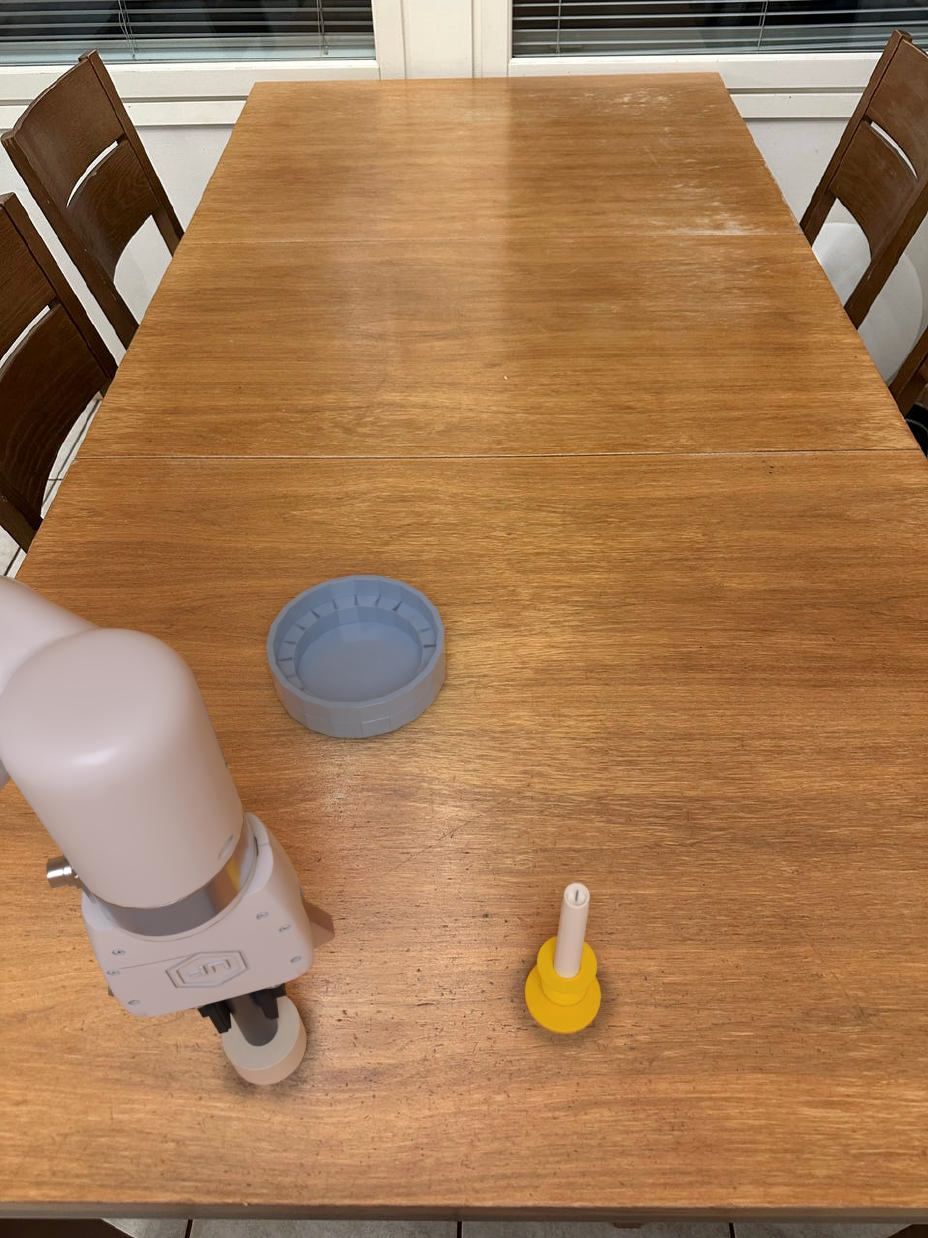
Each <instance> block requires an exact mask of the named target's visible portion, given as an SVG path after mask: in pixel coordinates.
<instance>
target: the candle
mask: <svg viewBox="0 0 928 1238" xmlns="http://www.w3.org/2000/svg"><path fill="white" fill-rule="evenodd" d="M590 898H591V895H590V891H589V889H588V887H587V886H585V884H583V883H580V882H572V883H570V884H569V885H567V886H566V888H565V889H564V892H563V897H562V900H561V906H560V914H559V920H558V927H557V935H556V936H552V937H550V938H549V939H548V940H546V941H545V942H544V943H543V945H542V946H541V947H540V949H539V951H538V954H537V958H536V963H535V965H534V966H533V968H532V969H531V970H530V971H529V972H528V973H529V974H528V975H527V978H526V980H525V985H524V1000H525V1004H526V1007H527V1010H528V1012H529V1014H530V1015H531V1017H532V1018H533V1020H534V1021H535V1022H536V1023H538V1024H539V1025H540V1026H541V1027H542V1028H544V1029H546V1030H548V1031H550V1032H551V1033H556V1034H563V1035H564V1034H574V1033H576V1032H580V1031H582V1030H584V1029H585V1028H586V1027H588V1026H589V1025H591V1023H592V1022H593V1021H594V1020H595V1018H596V1017H597V1015H598V1012H599V1009H600V1007H601V1000H602V992H601V991H602V990H601V984H600V983H599V980H598V978H597V976H596V975H597V970H598V963H597V962H598V961H597V956H596V954H595V952H594V950H593V948H592V947H591V946H590V944H589V943H588V942H586V941H585V936H586V931H587V923H588V917H589V910H590Z"/></svg>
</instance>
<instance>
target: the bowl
mask: <svg viewBox="0 0 928 1238" xmlns="http://www.w3.org/2000/svg"><path fill="white" fill-rule="evenodd" d="M446 647H447V646H446V629H445V626H444V624H443V619H442V617H441V615H440V611H439V609H438V608H437V607H436V606H435V604H434V603H433V602H432V601H431V599H429V598H428V597H427V595H426V594H425V593H424V592H422V591H421V590H419V589H417V588H415V587H414V586H413V585H411V584H409V583H407V582H405V581H403V580H398V579H394V578H391V577H388V576H383V575H379V574H350V575H345V576H341V577H336V578H335V577H334V578H330V579H327V580H324V581H322V582H320V583H317V584H315V585H313V586H311V587H309V588H307V589H304V590H302V591H301V592H300V593H299V594H297V595H296V596H295V597H294V598H292V599H291V600H290V601H289V602H287V603H286V604H284V606H283V607H282V608H281V610H280V611H279V613H278V614H277V615H276V617H275V619H274V620H273V621H272V623H271V625H270V627H269V631H268V635H267V639H266V643H265V649H266V656H267V657H266V658H267V663H268V667H269V671H270V675H271V678H272V679H271V680H272V682H273V686H274V689H275V693H276V696H277V699H278V700H279V702H280V703H281V704H282V706H283V707H284V709H285V711H286V712H287V714H288V715H289V716H290V717H291V718H293V719H294V720H296V721H297V722H298V723H300V724H301V725H302V726H304V727H305V728H307V729H308V730H310V731H314V732H317V733H320V734H323V735H326V736H329V737H332V738H343V739H344V738H346V739H347V738H349V739H350V738H351V739H365V738H370V737H374V736H378V735H379V736H380V735H384V734H388V733H392V732H394V731H396V730H398V729H399V728H401V727H403V726H405V725H407V724H409V723H411V722H413V721H415V720H417V719H418V717H420V716H421V715H422V714H423V712H425V711H426V710H427V709H428V708H429V707H430V706H431V705H432V704H433V703H434V702H435V700H436V699H437V696H438V695H439V693H440V691H441V689H442V687H443V685H444V683H445V680H446V671H447V670H446V669H447V648H446Z"/></svg>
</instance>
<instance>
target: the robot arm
mask: <svg viewBox="0 0 928 1238" xmlns="http://www.w3.org/2000/svg"><path fill="white" fill-rule="evenodd" d="M231 773H232V772H231V770H230V768H229V765H228V762H227V760H226V757H225V755H224V752H223V749H222V747H221V743H220V741H219V739H218V736H217V734H216V731H215V728H214V725H213V722H212V720H211V717H210V714H209V712H208V709H207V706H206V703H205V701H204V698H203V696H202V692H201V690H200V687H199V685H198V682H197V680H196V677H195V675H194V673H193V671H192V669H191V668H190V666H189V665H188V662H187V661H186V660H185V659H184V657H183V656H182V655H181V654H180V653H179V652H178V651H177V650H176V649H175V648H174V647H172V645H170V644H169V643H167V642H165V641H164V640H162V639H160V638H159V637H157V636H155V635H152V634H149V633H146V632H143V631H141V630H136V629H130V628H125V627H124V628H123V627H105V628H104V627H103V626H101V625H98V624H97V623H94V622H93V621H90V620H88V619H86V618H85V617H83V616H80V615H79V614H76V613H75V612H72V611H71V610H69V609H67V608H65V607H64V606H61V605H59V604H58V603H56V602H54V601H52V600H51V599H48V598H47V597H45V596H43V595H42V594H40V592H38V591H37V590H35V589H34V588H33V587H31V586H29V585H28V584H27V583H25V582H23V581H21V580H18V579H16V578H15V577H11V576H7V575H3V574H0V793H1V792H2V791H3V790H4V788H5V786H6V785H7V784H8V782H9V781H10V780H12V782H13V783H14V784H15V786H16V787H17V789H18V790H19V792H20V793H21V794H22V796H23V798H24V799H25V800H26V802H27V803H28V805H29V806H30V808H31V809H32V811H33V812H34V814H35V815H36V816H37V818H38V819H39V821H40V822H41V824H42V826H43V827H44V828H45V829H46V831H47V833H48V834H49V835H50V837H51V839H52V840H53V841H54V843H55V844H56V846H57V847H58V849H59V851H60V852H61V853H62V855H61V856H56V857H52V858H48V859H47V861H46V865H45V867H46V868H45V870H46V877H47V882H48V883H49V886H50V887H51V888H52V889H57V888H60V887H64V886H68V887H70V888H74V887H76V889H77V890H81V889H82V893H81V899H80V907H81V915H82V920H83V924H84V927H85V931H86V934H87V937H88V941H89V943H90V946H91V949H92V952H93V954H94V956H95V959H96V961H97V964H98V966H99V968H100V972H101V973H102V975H103V978H104V980H105V981H106V983H107V995H108V996H109V997H112V998H114V997H115V999H116V1001H117V1002H118V1003H119V1005H120V1006H121V1007H122V1008H123V1009H124V1010H125V1011H126V1012H127V1013H129V1014H131V1015H132V1016H135V1017H138V1018H154V1017H160V1016H166V1015H170V1014H174V1013H178V1012H182V1011H186V1010H197V1011H198V1013H199V1015H200V1016H201V1018H203V1019H205V1018H208V1017H209V1019H210V1021H211V1022H212V1025H213V1026H214V1028H215V1029H216V1031H217V1033H218V1034H219V1035H222V1033H226V1032H228V1031H229V1029H231V1028H232V1026H231V1015H230V1011H229V1009H228V1008H227V1006H226V1004H225V1002H224V1001H223V1000H225V999H228V998H232V997H236V996H239V995H243V994H247V993H250V992H254V991H255V996H256V999H257V1001H258V1003H259V1005H260V1007H261V1009H262V1011H263V1013H264V1015H265V1017H266V1019H268V1018H269V1019H270V1020H273V1019H277V1018H279V1013H278V1005H277V998H279V997H283V996H287V987H286V983H288V982H290V981H293V980H295V979H297V978H300V977H301V976H302V975H304V974H306V973H307V972H308V971H309V970H310V969H311V968H312V966H313V965H314V962H315V949H316V948H318V947H321V946H322V945H324V944H326V943H328V942H330V941H333V940H334V939H335V938H336V930H335V926H334V920H333V915H332V914H331V913H329V912H327V911H326V910H324V909H322V908H321V907H319V906H317V905H315V904H314V903H312V902H310V901H308V900H306V898H305V892H304V888H303V885H302V883H301V880H300V878H299V877H300V876H299V875H298V873H297V871H296V869H295V866H294V865H293V863H292V860H291V858H290V857H289V856H288V854H287V852H286V850H285V848H284V847H283V845H282V844H281V842H280V841H279V840H278V839H277V837H276V835H274V833H273V832H272V830H271V829H269V827H268V826H267V825H266V824H265V823H264V822H263V820H261V819H260V818H259V817H258V816H257V815H256V814H255V813H253V812H249V811H246V810H245V808H244V805H243V803H242V799H241V797H240V794H239V792H238V790H237V786H236V784H235V782H234V778H233V777H232V774H231Z"/></svg>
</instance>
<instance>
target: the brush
mask: <svg viewBox="0 0 928 1238" xmlns="http://www.w3.org/2000/svg"><path fill="white" fill-rule="evenodd" d="M223 1001H224V1002H225V1004H226V1006H227V1008H228V1009H229V1011H230V1015H231V1026H232V1028H231V1029H229V1031H228V1032H226V1033H222V1034H221V1045H222V1048H223V1051H224V1053H225V1056H227V1058H228V1060H229V1062H230V1063H231V1064H232V1065H231V1066H232V1067H233V1069H235V1071H236V1073H237V1074H238V1075H239V1076H240V1077H241V1078H242V1079H243V1080H245V1081H246V1082H249V1083H251V1084H254V1085H259V1086H268V1085H273V1084H276V1083H279V1082H281V1081H283V1080H285V1079H286V1078H288V1077H289V1076H290V1075H291V1074H293V1073H294V1072H295V1070H296V1069H297V1068H298V1067H299V1066H300V1064H301V1062H302V1060H303V1058H304V1057H305V1053H306V1049H307V1043H308V1042H307V1041H308V1039H307V1038H308V1037H307V1031H306V1028H305V1025H304V1023H303V1020H302V1018H301V1015H300V1014H299V1011H298V1008H297V1007H296V1004H295V1003H294V1002H293V1001H292V999H290V998H289V997H288V996H287V995H286V996H283V997H279V998H277V1005H278V1013H279V1018H277V1019H273V1020H270V1019H269V1018H268V1019H266V1017H265V1015H264V1013H263V1011H262V1009H261V1007H260V1005H259V1003H258V1001H257V999H256V996H255V991H254V992H250V993H247V994H243V995H239V996H236V997H232V998H228V999H225V1000H223Z"/></svg>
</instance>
